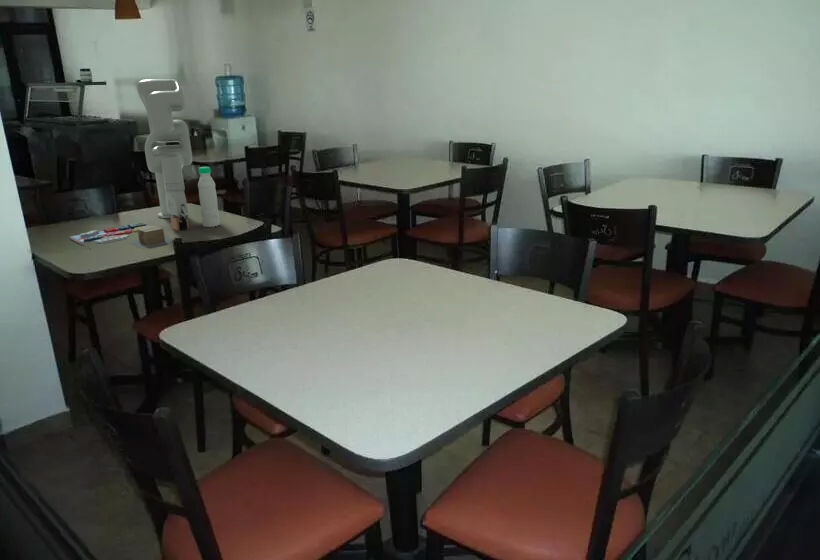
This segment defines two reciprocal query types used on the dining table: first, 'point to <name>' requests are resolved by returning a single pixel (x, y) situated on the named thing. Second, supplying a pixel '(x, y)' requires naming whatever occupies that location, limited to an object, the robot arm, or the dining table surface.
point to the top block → (176, 222)
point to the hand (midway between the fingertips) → (180, 229)
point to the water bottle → (208, 198)
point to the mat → (142, 245)
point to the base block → (151, 235)
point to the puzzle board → (108, 234)
